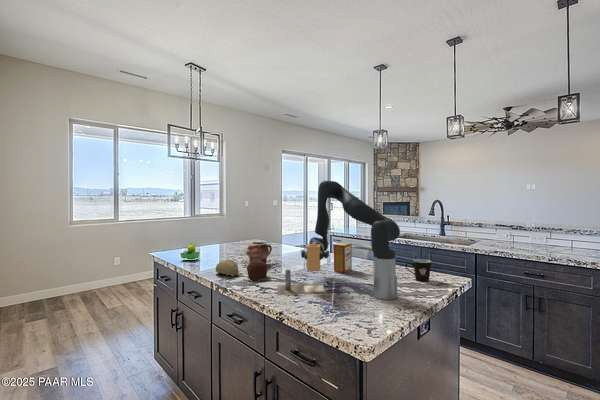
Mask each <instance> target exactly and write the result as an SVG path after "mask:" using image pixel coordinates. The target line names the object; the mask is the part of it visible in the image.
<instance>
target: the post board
mask: <svg viewBox="0 0 600 400" xmlns="http://www.w3.org/2000/svg"><path fill="white" fill-rule="evenodd" d="M284 271H285V272H284V274H285V275H284V277H285V278H284V279H285V280H284V281H285V282H284V283H285V284H277V287H276V296H280V295H281V296H283V295H285V296H286V295H290V296H291V295H294V296H295V295H326V294H328V292H327V290H326V288H325V284H324V283H314V284H313V283H312V284H309V283H308V284H307V283H306V284H291V282H292V281H291V278H292V276H291V271H292V270H291V269H289V268H288V269H287V268H285V270H284Z"/></svg>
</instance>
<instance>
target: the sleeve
mask: <svg viewBox="0 0 600 400" xmlns="http://www.w3.org/2000/svg"><path fill="white" fill-rule="evenodd" d="M306 252H307V260H306V270H307V272H321V271H320V270H321V260H320V244H309V243H308V244H307V245H306Z"/></svg>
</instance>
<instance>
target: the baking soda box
mask: <svg viewBox="0 0 600 400" xmlns="http://www.w3.org/2000/svg"><path fill="white" fill-rule="evenodd" d="M352 257H353V256H352V243H350V242H337V243H335V244H333V272H334V271H335V272H334V273H339V272H340V273H341V274H346V273H348V272H350V271H352V268H353V267H352V265H353V264H352V261H353V260H352V259H353V258H352ZM340 273H339V274H340Z"/></svg>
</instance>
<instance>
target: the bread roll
mask: <svg viewBox="0 0 600 400" xmlns="http://www.w3.org/2000/svg"><path fill="white" fill-rule="evenodd" d="M215 272H216V273H218V274H220V273H221V275H224V274H226V275H225V276H228V275H236V276H238V274H239V267H238V264H237V263H236V261H234V260H232V259H231V260H230V259H225V260H222V261H220V262H219V263H217V264H216V267H215Z"/></svg>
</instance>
